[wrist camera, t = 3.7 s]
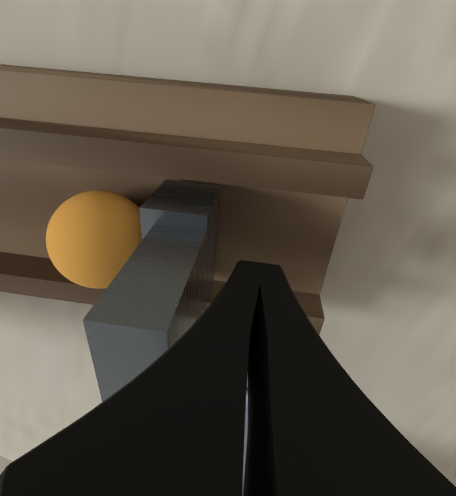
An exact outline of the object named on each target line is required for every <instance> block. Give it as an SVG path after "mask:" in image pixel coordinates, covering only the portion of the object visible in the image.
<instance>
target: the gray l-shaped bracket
mask: <svg viewBox="0 0 456 496" xmlns="http://www.w3.org/2000/svg"><path fill="white" fill-rule="evenodd" d="M219 198H220V185H213V184H204V183H195V182H186V181H177V180H168V179H166V180H165V181H164V182H163V183H162V184H161V185H160V186H159V187H158V188H157V189H156V190H155V191H154V192H153V193H152V195H151V196H150V197H149V198H148V199H147V200H146V201H145V202H144V203H143V204H142V205H141V206H140V207H139V210H140V222H141V233H142V241H141V242H140V244H139V245H138V246H137V248H136V249H135V251H134V252H133V253H132V255H131V256H130V257H129V259H128V260H127V261H126V263H125V264H124V265H123V267H122V268H121V269H120V271H119V272H118V273H117V275H116V276H115V277H114V279H113V280H112V282H111V283H110V284H109V286H108V287H107V288H106V290H105V291H104V292H103V294H102V295H101V296H100V298H99V299H98V300H97V302H96V303H95V304H94V306H93V307H92V308H91V310H90V311H89V313H88V314H87V315H86V317H85V318H84V319H83V323H84V327H85V331H86V335H87V339H88V343H89V348H90V352H91V356H92V360H93V364H94V369H95V373H96V377H97V381H98V385H99V390H100V394H101V398H102V402H103V401H105V400H106V399H107V398H109V397H110V396H111V395H113V394H114V393H115V392H117V391H118V390H119V389H121V388H122V387H124V386H125V385H126V384H128V383H129V382H130V381H132V380H133V379H134V378H135V377H137V376H138V375H139V374H140V373H141V372H143V371H144V370H145V369H146V368H147V367H149V366H150V365H151V364H152V363H153V362H154V361H155V360H157V359H158V358H159V357H160V356H161V355H162V354H163V353H165V352H166V351H167V350H168V349H169V348H170V347H171V346H172V345H173V344H174V343H175V342H176V341H177V340H178V339H179V338H180V337H181V336H182V335H183V334H184V333H185V332H186V331H187V330H188V329H189V328H190V327H191V326H192V325H193V324H194V323H195V322H196V320H197V319H198V318H199V317H200V316H201V315H202V313H203V312H204V311H205V309H206V306H207V302H208V298H209V295H210V291H211V287H212V284H213V280H214V276H215V263H216V247H217V231H218V214H219Z"/></svg>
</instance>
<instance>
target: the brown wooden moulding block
mask: <svg viewBox="0 0 456 496" xmlns="http://www.w3.org/2000/svg"><path fill="white" fill-rule="evenodd" d="M374 107H375V104H372V103H370V102H367V101H364V100H362V99H359V98H356V97H354V96H344V95H333V94H322V93H311V92H300V91H289V90H278V89H267V88H255V87H244V86H233V85H222V84H211V83H200V82H189V81H178V80H167V79H155V78H144V77H133V76H122V75H111V74H100V73H89V72H78V71H67V70H55V69H44V68H33V67H22V66H11V65H0V291H1V292H9V293H16V294H23V295H30V296H37V297H44V298H51V299H58V300H65V301H72V302H79V303H86V304H93V305H94V304H95V303H96V302H97V300H98V299H99V298H100V296H101V295H102V294H103V292H104V291H105V290H106V288H102V289H96V288H88V287H84V286H81V285H78V284H76V283H74V282H72V281H70V280H69V279H67V278H66V277H64V276H63V275H62V274H61V273H60V272H59V271H58V270H57V269H56V267H55V266H54V265H53V263H52V261H51V259H50V257H49V254H48V251H47V247H46V232H47V227H48V224H49V221H50V219H51V217H52V215H53V214H54V212H55V211H56V210H57V209H58V207H59V206H60V205H61V204H62V203H64V202H65V201H66V200H68V199H70V198H71V197H73V196H75V195H78V194H80V193H83V192H87V191H96V190H99V191H110V192H114V193H117V194H120V195H122V196H124V197H126V198H128V199H129V200H131V201H132V202H134V203H135V204H136V205H137V206H138V207H140V206H141V205H142V204H143V203H144V202H145V201H146V200H147V199H148V198H149V197H150V196H151V195H152V193H153V192H154V191H155V190H156V189H157V188H158V187H159V186H160V185H161V184H162V183H163V182H164V181H165V180H166V179H168V180H177V181H186V182H195V183H204V184H213V185H220V198H219V214H218V231H217V247H216V263H215V276H214V280H213V284H212V287H211V291H210V295H209V298H208V302H207V306H206V309H207V308H208V306H209V305H210V304H211V303H212V301H213V300H214V299H215V297H216V296H217V295H218V293H219V292H220V291H221V289H222V288H223V286H224V285H225V283H226V282H227V280H228V279H229V277H230V275H231V274H232V272H233V270H234V268H235V266H236V263H237V262H238V261H240V260H246V261H253V262H261V263H268V264H276V265H280V266H281V267H282V269H283V271H284V274H285V276H286V278H287V280H288V282H289V284H290V287H291V289H292V290H293V292H294V294H295V296H296V298H297V300H298V302H299V304H300V305H301V307H302V309H303V310H304V312H305V314H306V315H307V317H308V319H309V320H310V322H311V324H312V325H313V327H314V328H315V330H316V331H317V333H318V334H320V331H321V328H322V325H323V322H324V314H323V309H322V304H321V300H320V295H319V294H320V291H321V287H322V284H323V280H324V277H325V274H326V270H327V267H328V263H329V260H330V257H331V253H332V250H333V246H334V243H335V240H336V236H337V233H338V229H339V226H340V223H341V219H342V216H343V212H344V209H345V206H346V202H347V199H348V198H355V199H363V198H364V195H365V192H366V189H367V186H368V183H369V180H370V176H371V173H372V170H373V166H372V165H371V164H370V163H369V162H368V161H367V160H366V159H365V158H364V157H363V156H362V155H361V151H362V148H363V144H364V141H365V138H366V134H367V131H368V127H369V124H370V121H371V117H372V114H373V110H374ZM206 309H205V310H206Z"/></svg>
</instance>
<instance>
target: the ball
mask: <svg viewBox="0 0 456 496" xmlns="http://www.w3.org/2000/svg"><path fill="white" fill-rule="evenodd" d="M141 241H142V233H141V222H140V210H139V207H138V206H137V205H136V204H135V203H134V202H132V201H131V200H129V199H128V198H126V197H124V196H122V195H120V194H117V193H114V192H110V191H99V190H96V191H87V192H83V193H80V194H78V195H75V196H73V197H71V198H70V199H68V200H66V201H65V202H64V203H62V204H61V205H60V206H59V207H58V209H57V210H56V211H55V212H54V214H53V215H52V217H51V219H50V221H49V224H48V227H47V232H46V247H47V251H48V254H49V257H50V259H51V261H52V263H53V265H54V266H55V267H56V269H57V270H58V271H59V272H60V273H61V274H62V275H63V276H64V277H66V278H67V279H69V280H70V281H72V282H74V283H76V284H78V285H81V286H84V287H88V288H96V289H102V288H107V287H108V286H109V284H110V283H111V282H112V280H113V279H114V277H115V276H116V275H117V273H118V272H119V271H120V269H121V268H122V267H123V265H124V264H125V263H126V261H127V260H128V259H129V257H130V256H131V255H132V253H133V252H134V251H135V249H136V248H137V246H138V245H139V244H140V242H141Z"/></svg>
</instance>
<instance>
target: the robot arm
mask: <svg viewBox="0 0 456 496" xmlns="http://www.w3.org/2000/svg"><path fill="white" fill-rule="evenodd" d="M247 372H248V391H247ZM0 496H456V487H455V486H454V485H453V484H452V483H451V482H450V481H449V480H448V479H447V478H446V477H445V476H444V475H443V474H442V473H441V472H439V471H438V470H437V469H436V468H435V467H434V466H433V465H432V464H431V463H430V462H429V461H428V460H427V459H426V458H425V457H424V456H423V455H422V454H421V453H420V452H419V451H418V450H417V449H416V448H415V447H414V446H413V445H412V444H411V443H410V442H409V441H408V440H407V439H406V438H405V437H404V436H403V435H402V434H401V433H400V432H399V431H398V430H397V429H396V428H395V427H394V426H393V425H392V424H391V422H390V421H389V420H388V419H387V418H386V417H385V416H384V415H383V414H382V413H381V412H380V411H379V410H378V408H377V407H376V406H375V405H374V404H373V403H372V402H371V401H370V400H369V399H368V398H367V397H366V395H365V394H364V393H363V392H362V391H361V390H360V388H359V387H358V386H357V385H356V384H355V383H354V381H353V380H352V379H351V378H350V376H349V375H348V374H347V373H346V371H345V370H344V369H343V368H342V366H341V365H340V364H339V363H338V361H337V360H336V359H335V357H334V356H333V355H332V353H331V352H330V350H329V349H328V348H327V346H326V345H325V343H324V342H323V340H322V339H321V337H320V336H319V334H318V333H317V331H316V330H315V328H314V327H313V325H312V324H311V322H310V320H309V319H308V317H307V315H306V314H305V312H304V310H303V309H302V307H301V305H300V304H299V302H298V300H297V298H296V296H295V294H294V292H293V290H292V289H291V287H290V284H289V282H288V280H287V278H286V276H285V274H284V271H283V269H282V267H281V266H280V265H276V264H268V263H261V262H253V261H246V260H240V261H238V262H237V263H236V266H235V268H234V270H233V272H232V274H231V275H230V277H229V279H228V280H227V282H226V283H225V285H224V286H223V288H222V289H221V291H220V292H219V293H218V295H217V296H216V297H215V299H214V300H213V301H212V303H211V304H210V305H209V306H208V308H207V309H206V310H205V311H204V312H203V313H202V315H201V316H200V317H199V318H198V319H197V320H196V322H195V323H194V324H193V325H192V326H191V327H190V328H189V329H188V330H187V331H186V332H185V333H184V334H183V335H182V336H181V337H180V338H179V339H178V340H177V341H176V342H175V343H174V344H173V345H172V346H171V347H170V348H169V349H168V350H167V351H166V352H165V353H163V354H162V355H161V356H160V357H159V358H158V359H157V360H155V361H154V362H153V363H152V364H151V365H150V366H149V367H147V368H146V369H145V370H144V371H143V372H141V373H140V374H139V375H138V376H137V377H135V378H134V379H133V380H132V381H130V382H129V383H128V384H126V385H125V386H124V387H122V388H121V389H119V390H118V391H117V392H115V393H114V394H113V395H111V396H110V397H109V398H107V399H106V400H105V401H103V402H102V403H101V404H99V405H98V406H97V407H95V408H94V409H93V410H91V411H90V412H88V413H87V414H85V415H84V416H83V417H81V418H80V419H78V420H77V421H75V422H74V423H72V424H71V425H69V426H68V427H66V428H64V429H63V430H61V431H60V432H58V433H57V434H55V435H54V436H52V437H51V438H49V439H48V440H46V441H44V442H43V443H41V444H40V445H38V446H37V447H35V448H34V449H32V450H31V451H29V452H28V453H26V454H24V455H23V456H21V457H20V458H18V459H16V460H15V461H13V462H12V463H10V464H9V465H8V466H7V467H6V468H5V469H4V471H3V472H2V473H1V475H0Z"/></svg>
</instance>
